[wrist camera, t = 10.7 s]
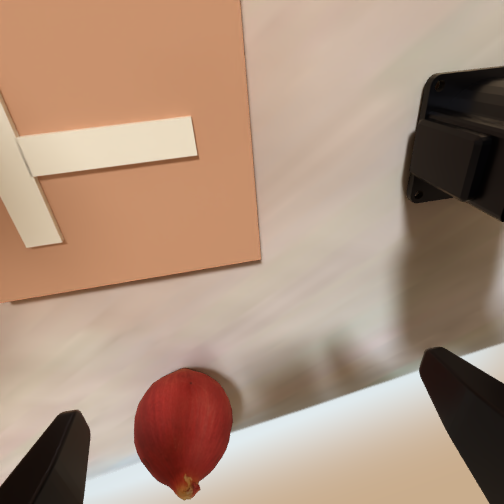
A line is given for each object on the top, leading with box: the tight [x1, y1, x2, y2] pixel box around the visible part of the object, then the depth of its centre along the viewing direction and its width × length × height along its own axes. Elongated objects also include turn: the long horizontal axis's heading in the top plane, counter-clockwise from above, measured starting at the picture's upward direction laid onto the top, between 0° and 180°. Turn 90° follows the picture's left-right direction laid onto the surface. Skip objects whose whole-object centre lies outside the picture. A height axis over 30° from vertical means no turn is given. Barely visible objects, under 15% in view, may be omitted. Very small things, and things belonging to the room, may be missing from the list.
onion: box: [134, 368, 233, 500], centre depth 20 cm, size 6×6×8 cm
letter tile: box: [0, 0, 261, 303], centre depth 15 cm, size 14×14×1 cm
